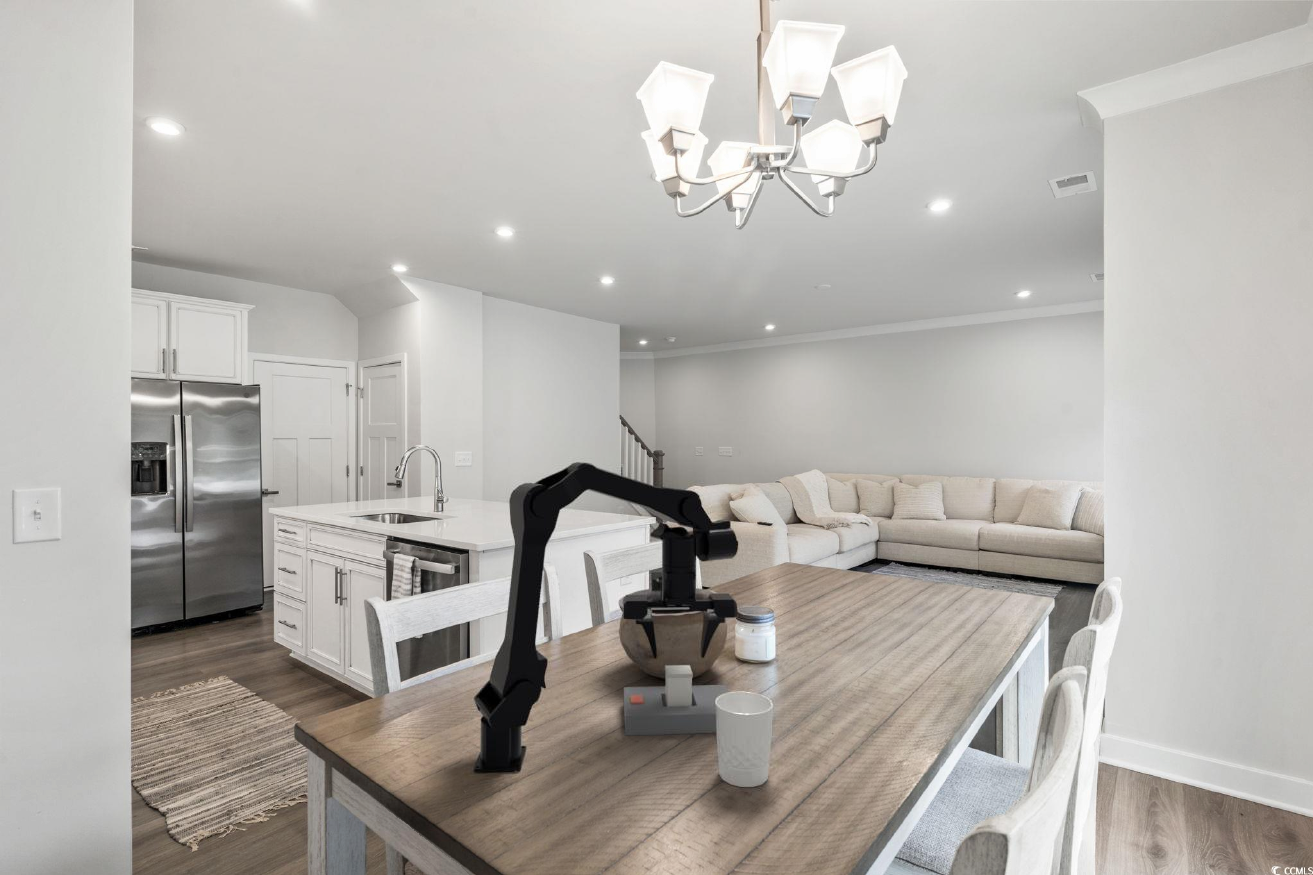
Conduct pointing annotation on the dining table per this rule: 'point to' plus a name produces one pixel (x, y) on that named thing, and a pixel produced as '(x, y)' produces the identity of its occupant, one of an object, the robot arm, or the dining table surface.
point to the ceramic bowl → (671, 638)
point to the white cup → (743, 737)
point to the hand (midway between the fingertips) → (678, 657)
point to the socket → (670, 711)
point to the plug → (678, 685)
